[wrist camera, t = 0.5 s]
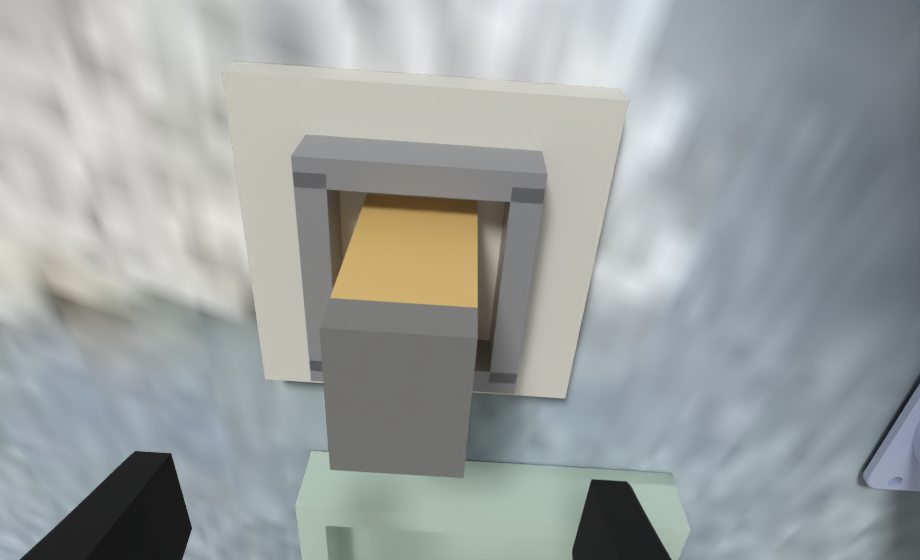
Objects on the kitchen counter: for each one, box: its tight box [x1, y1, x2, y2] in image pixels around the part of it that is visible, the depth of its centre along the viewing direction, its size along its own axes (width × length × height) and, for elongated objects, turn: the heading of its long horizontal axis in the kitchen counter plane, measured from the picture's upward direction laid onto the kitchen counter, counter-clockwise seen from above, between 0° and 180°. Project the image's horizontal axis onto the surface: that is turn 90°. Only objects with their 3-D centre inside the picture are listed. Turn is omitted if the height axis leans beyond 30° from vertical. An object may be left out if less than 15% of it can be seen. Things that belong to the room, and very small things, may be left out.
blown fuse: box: [319, 194, 478, 478], centre depth 15 cm, size 3×4×6 cm
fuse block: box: [221, 61, 629, 398], centre depth 18 cm, size 10×10×2 cm
